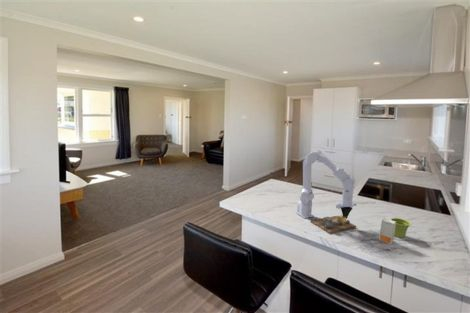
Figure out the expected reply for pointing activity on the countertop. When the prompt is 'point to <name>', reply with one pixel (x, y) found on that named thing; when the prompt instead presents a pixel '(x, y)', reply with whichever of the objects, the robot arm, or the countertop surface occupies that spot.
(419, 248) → the countertop surface
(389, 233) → the skincare box
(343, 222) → the leg
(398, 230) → the plant pot
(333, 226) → the board
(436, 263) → the countertop surface
